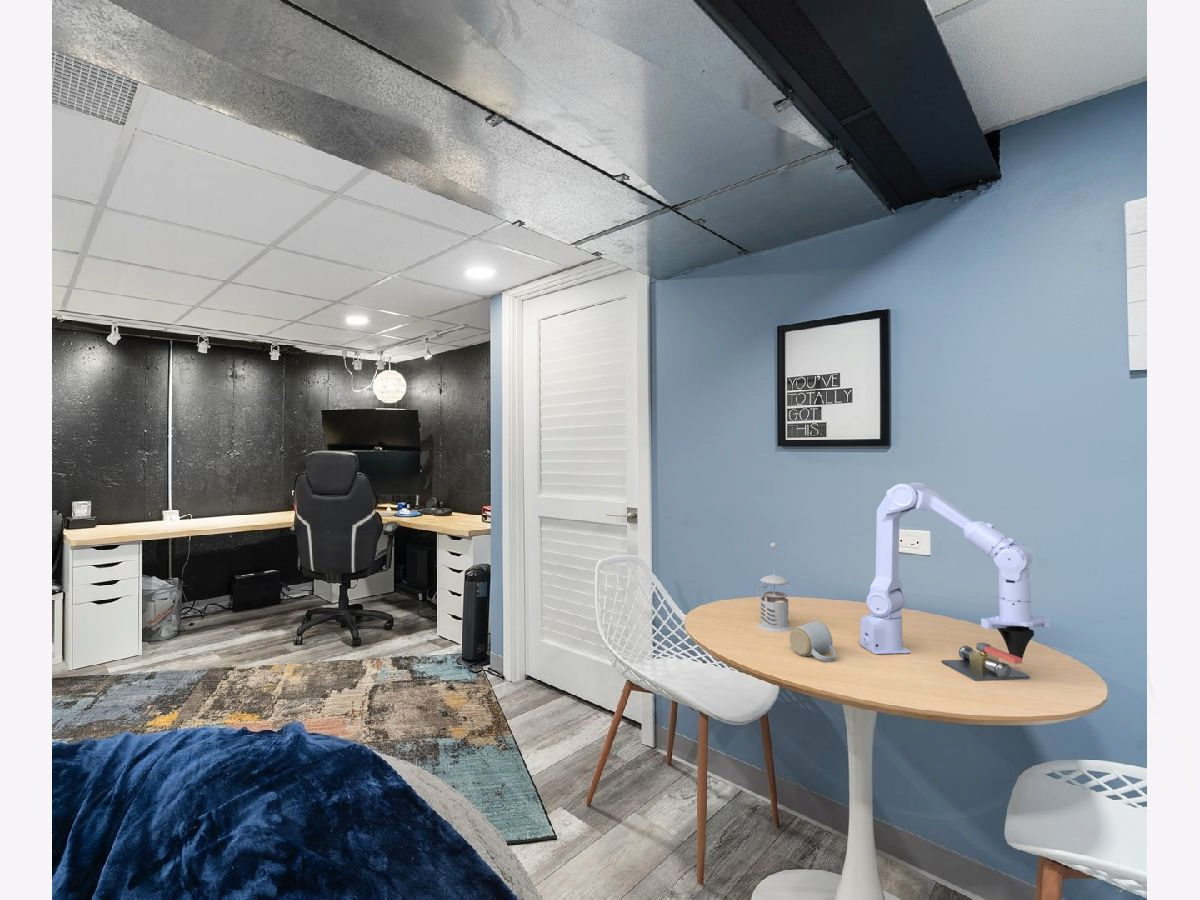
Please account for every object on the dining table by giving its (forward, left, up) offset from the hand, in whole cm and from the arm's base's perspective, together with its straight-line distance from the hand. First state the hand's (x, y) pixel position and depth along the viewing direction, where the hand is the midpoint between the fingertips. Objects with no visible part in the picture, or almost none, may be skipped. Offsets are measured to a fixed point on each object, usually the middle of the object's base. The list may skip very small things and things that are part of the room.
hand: (1016, 660), depth 124 cm
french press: (-38, +45, -5) cm, 59 cm away
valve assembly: (-2, +7, -5) cm, 9 cm away
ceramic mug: (-37, +20, -5) cm, 42 cm away
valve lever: (-2, +3, 0) cm, 3 cm away
